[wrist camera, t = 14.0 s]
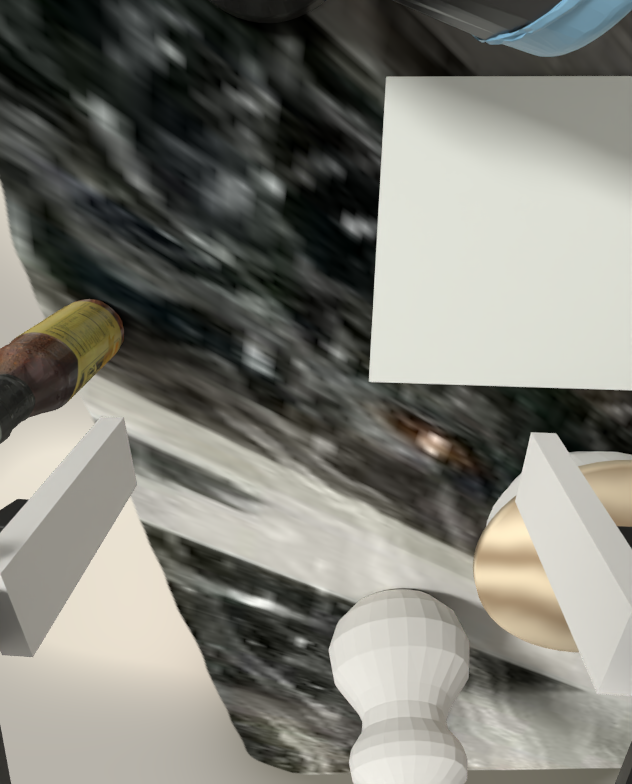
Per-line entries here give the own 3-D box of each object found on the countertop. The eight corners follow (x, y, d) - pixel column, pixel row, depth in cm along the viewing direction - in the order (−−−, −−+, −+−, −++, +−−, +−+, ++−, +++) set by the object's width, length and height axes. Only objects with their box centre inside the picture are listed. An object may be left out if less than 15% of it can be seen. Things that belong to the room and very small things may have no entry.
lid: (494, 454, 45) (533, 546, 35) (780, 465, 44) (904, 565, 34) (458, 635, 56) (480, 744, 46) (684, 649, 55) (757, 764, 45)
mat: (385, 77, 40) (386, 76, 39) (737, 76, 38) (743, 75, 37) (368, 379, 52) (369, 381, 51) (635, 387, 50) (638, 390, 50)
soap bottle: (452, 566, 63) (522, 879, 37) (466, 628, 67) (537, 943, 41) (320, 586, 66) (297, 888, 40) (343, 644, 71) (337, 947, 45)
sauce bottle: (89, 362, 53) (-43, 481, 35) (53, 308, 50) (-108, 406, 33) (142, 341, 51) (33, 454, 34) (109, 284, 49) (-29, 374, 31)
